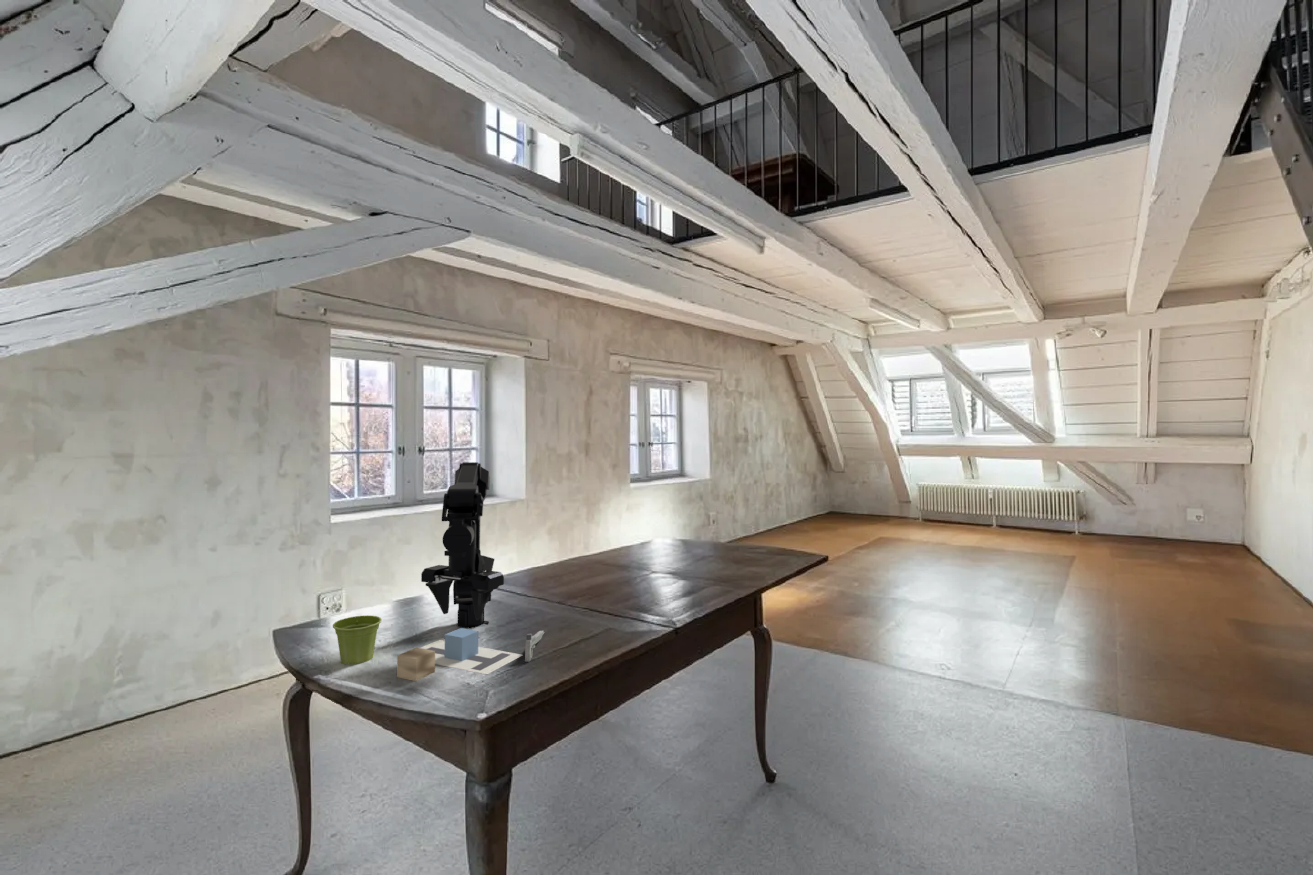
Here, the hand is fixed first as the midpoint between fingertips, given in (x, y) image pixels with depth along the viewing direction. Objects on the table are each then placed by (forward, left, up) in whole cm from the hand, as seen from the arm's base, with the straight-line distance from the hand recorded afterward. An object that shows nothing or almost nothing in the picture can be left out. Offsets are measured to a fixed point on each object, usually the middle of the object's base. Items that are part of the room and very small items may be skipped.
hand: (461, 616), depth 130 cm
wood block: (+12, -1, -10) cm, 15 cm away
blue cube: (0, 0, -9) cm, 9 cm away
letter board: (0, 0, -9) cm, 9 cm away
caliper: (-13, +11, -10) cm, 19 cm away
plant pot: (+11, -19, -10) cm, 24 cm away
